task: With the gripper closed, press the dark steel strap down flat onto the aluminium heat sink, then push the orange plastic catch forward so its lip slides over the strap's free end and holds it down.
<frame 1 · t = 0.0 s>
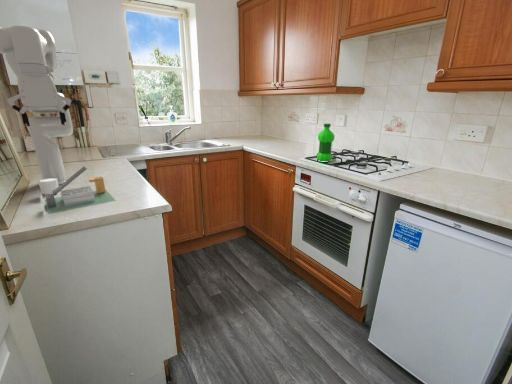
hand: (46, 125, 95), 31 cm above the countertop, tool pointing down, fingers open, 9 cm apart
strap: (69, 180, 107), point 10 cm above the countertop, hinge at 35.0°
circuit board: (80, 203, 111), on the countertop
heat sink: (79, 203, 111), resting on circuit board
catch: (97, 185, 118), point 5 cm above the countertop, slide at 0.0 cm
plastic bottle: (323, 162, 186), on the countertop
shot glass: (51, 195, 120), on the countertop
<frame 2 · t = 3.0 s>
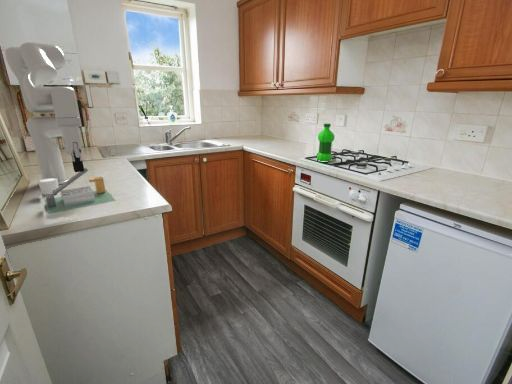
hand: (79, 171, 107), 13 cm above the countertop, tool pointing down, fingers closed
strap: (70, 181, 107), point 10 cm above the countertop, hinge at 31.8°, touching gripper
everything else where it was.
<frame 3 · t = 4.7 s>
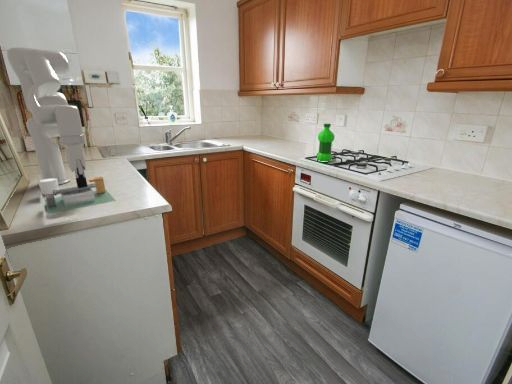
hand: (82, 186, 109), 7 cm above the countertop, tool pointing down, fingers closed
strap: (75, 188, 109), point 6 cm above the countertop, hinge at 1.4°, touching gripper
everything else where it was.
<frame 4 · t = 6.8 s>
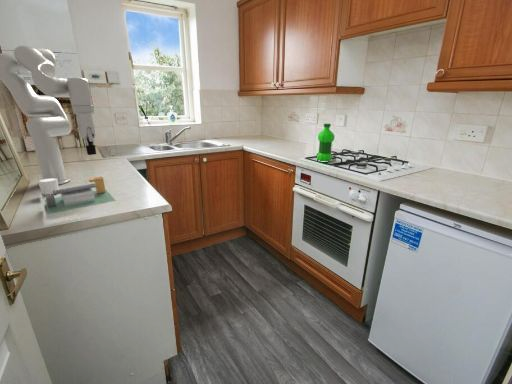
hand: (91, 154, 120), 17 cm above the countertop, tool pointing down, fingers closed
strap: (75, 188, 109), point 6 cm above the countertop, hinge at 1.2°
everything else where it was.
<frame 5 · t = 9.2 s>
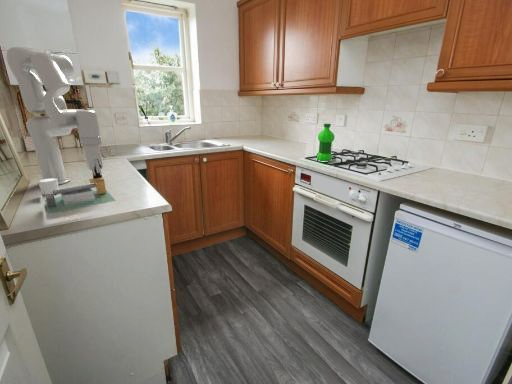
hand: (98, 183, 120), 5 cm above the countertop, tool pointing down, fingers closed
catch: (97, 186, 117), point 5 cm above the countertop, slide at 1.6 cm, touching gripper
everything else where it was.
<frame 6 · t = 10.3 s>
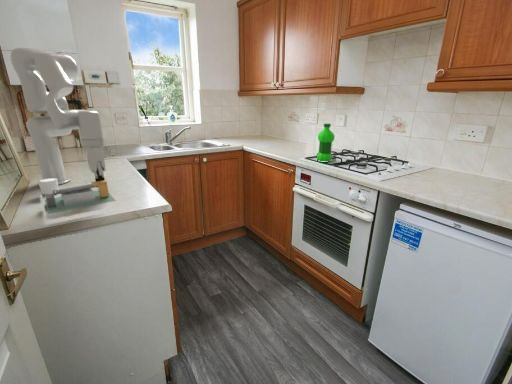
hand: (101, 186, 117), 5 cm above the countertop, tool pointing down, fingers closed
catch: (100, 189, 113), point 5 cm above the countertop, slide at 6.6 cm, touching gripper
everything else where it was.
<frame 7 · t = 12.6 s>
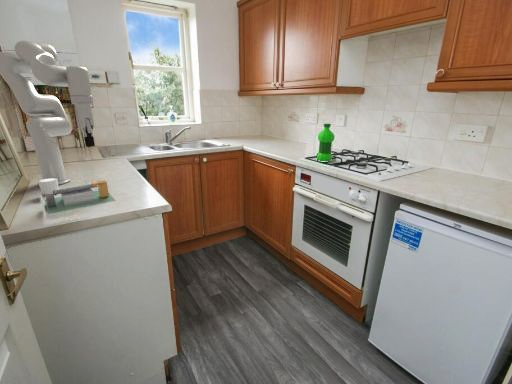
hand: (90, 146, 117), 21 cm above the countertop, tool pointing down, fingers closed
catch: (100, 189, 113), point 5 cm above the countertop, slide at 6.6 cm
everything else where it was.
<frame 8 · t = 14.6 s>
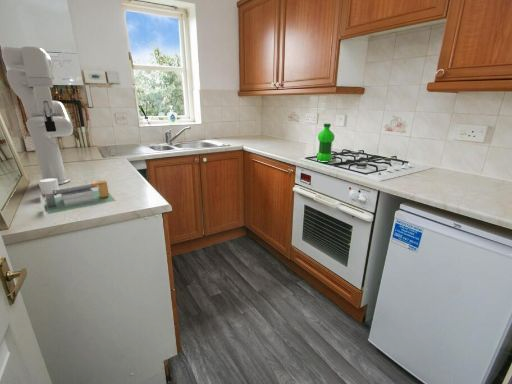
hand: (51, 131, 113), 27 cm above the countertop, tool pointing down, fingers closed
nothing on the countertop moved.
at the end: strap at +1° (first picture: +35°); catch slide at 6.6 cm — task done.
